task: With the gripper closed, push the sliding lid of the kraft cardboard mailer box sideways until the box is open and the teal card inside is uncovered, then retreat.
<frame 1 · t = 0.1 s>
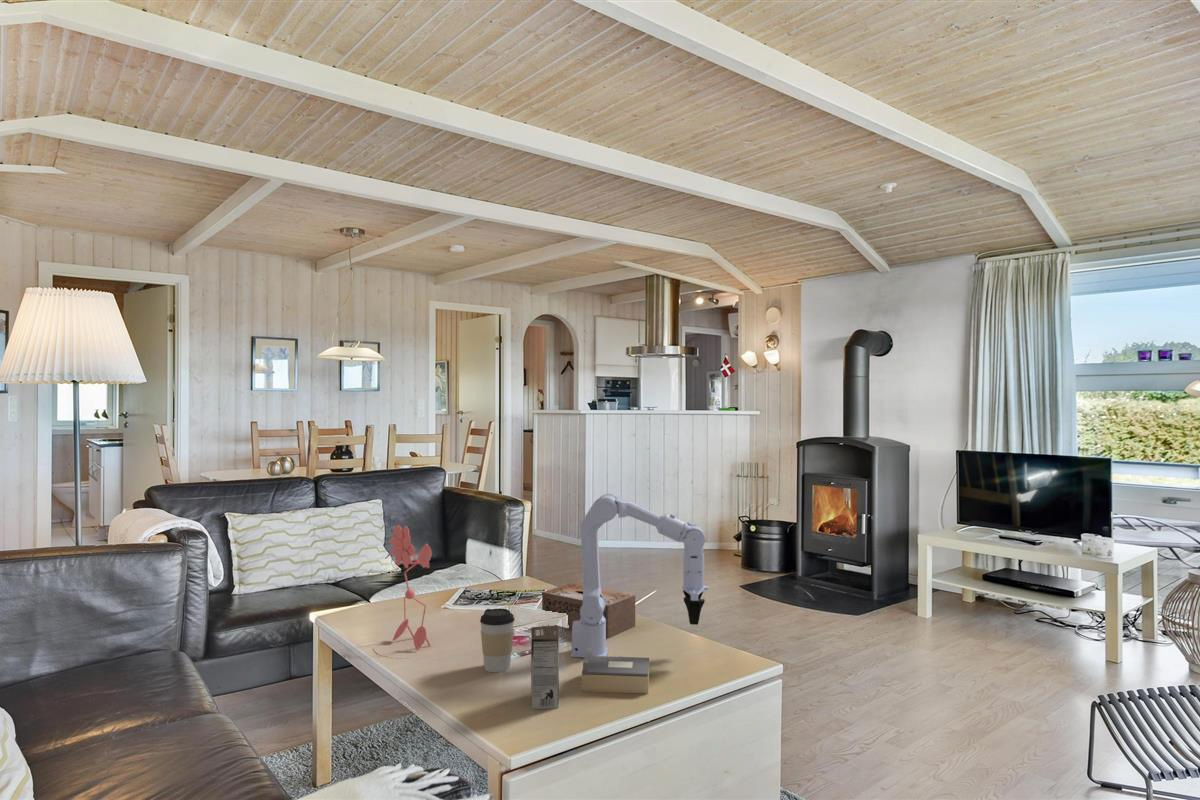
hand: (693, 620, 201), 10 cm above the table, fingers open, 7 cm apart
lid: (616, 661, 182), point 5 cm above the table, slide at 0.0 cm
tissue box cover: (588, 626, 230), on the table
coffee cup: (497, 668, 193), on the table
figurine: (400, 648, 209), on the table
coffee box: (544, 701, 171), on the table
mailer box: (616, 683, 182), on the table
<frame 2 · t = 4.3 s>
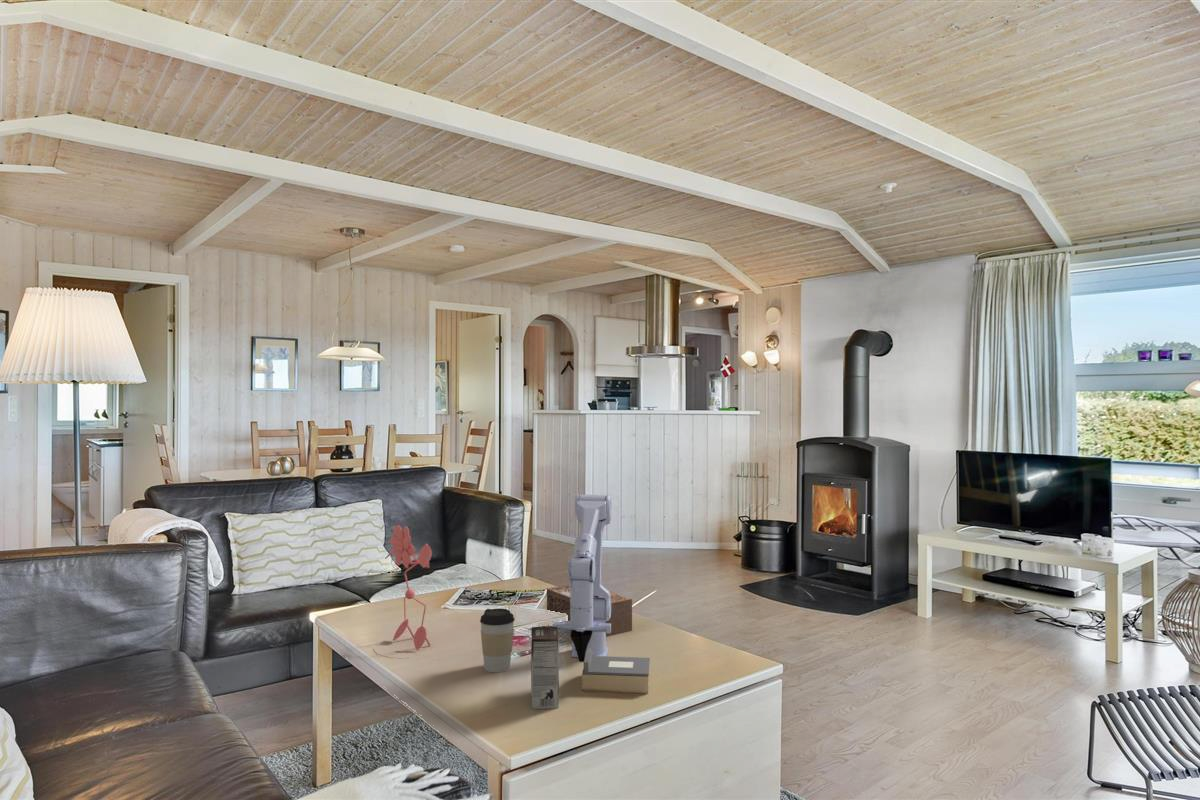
hand: (581, 660, 183), 5 cm above the table, fingers closed
lid: (616, 661, 182), point 5 cm above the table, slide at 0.1 cm, touching gripper
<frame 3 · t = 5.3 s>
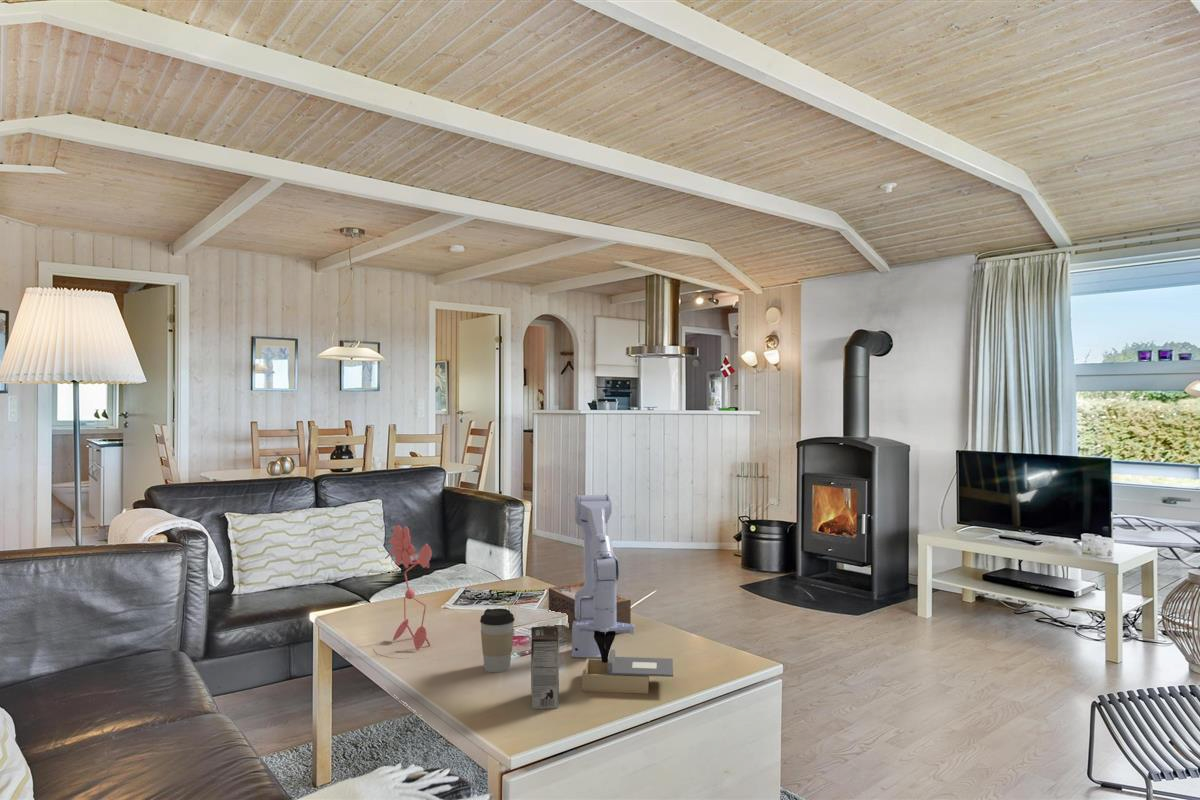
hand: (604, 661, 182), 5 cm above the table, fingers closed
lid: (640, 662, 181), point 5 cm above the table, slide at 6.0 cm, touching gripper
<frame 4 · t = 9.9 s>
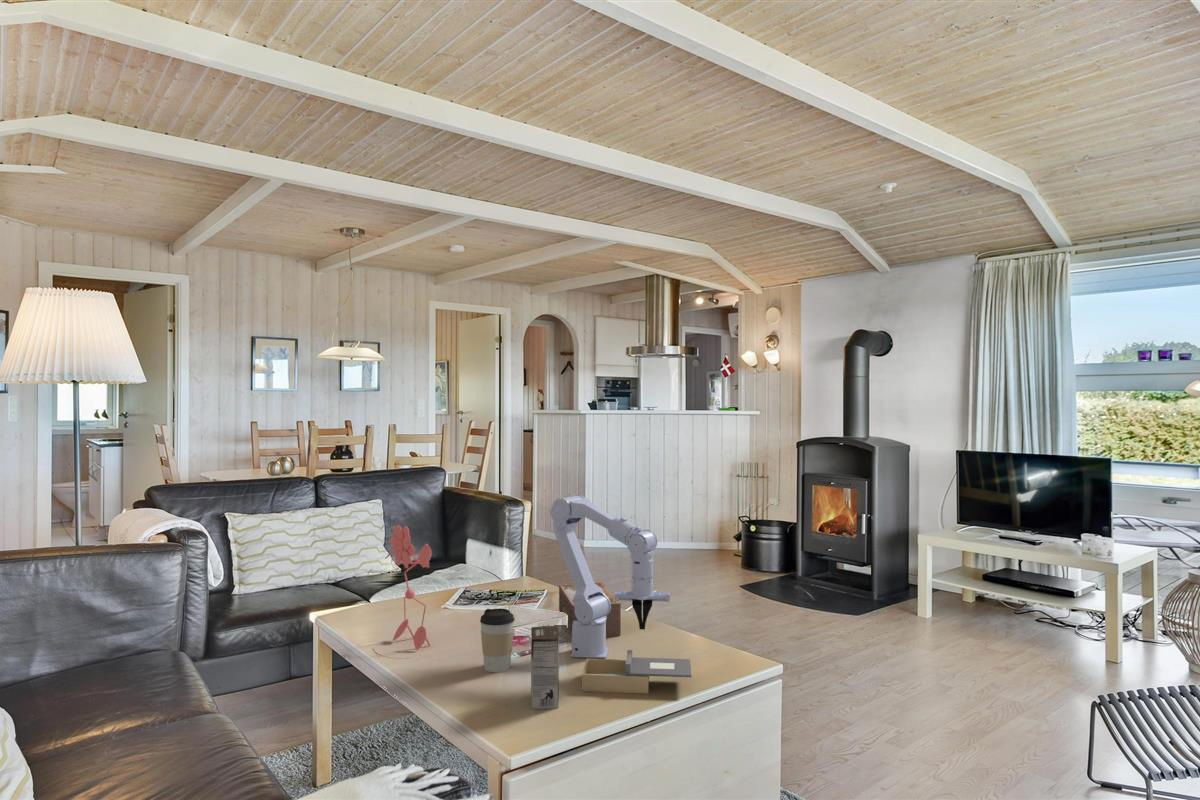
hand: (642, 628, 194), 10 cm above the table, fingers closed
lid: (658, 662, 181), point 5 cm above the table, slide at 10.3 cm
at the end: lid slide at 10.3 cm; lid touching nothing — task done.
